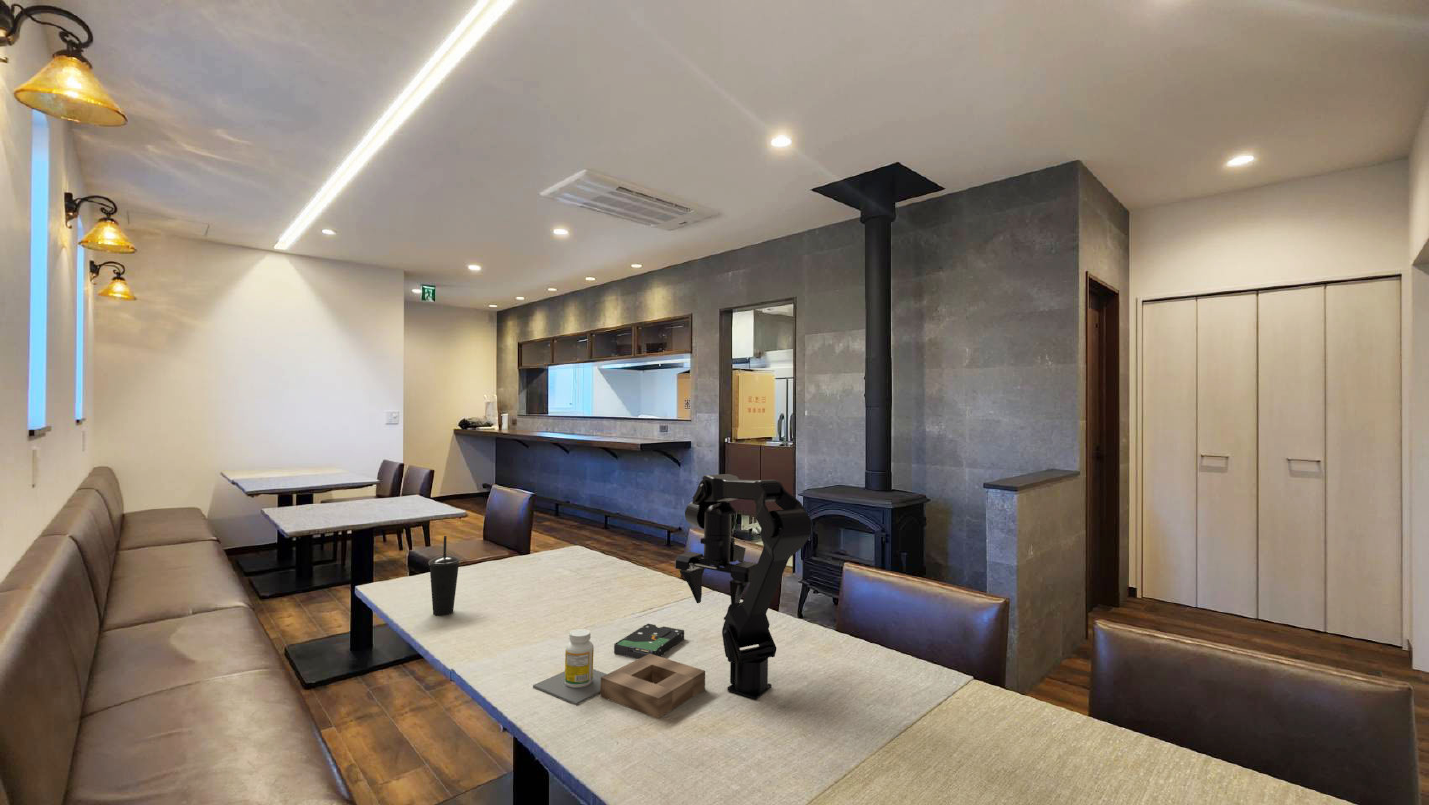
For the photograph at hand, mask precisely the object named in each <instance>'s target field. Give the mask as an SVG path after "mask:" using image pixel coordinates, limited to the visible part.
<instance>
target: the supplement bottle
mask: <svg viewBox="0 0 1429 805" xmlns="http://www.w3.org/2000/svg"><path fill="white" fill-rule="evenodd" d="M568 639H569V642H568V643H566V646H565V654H564V655H565V658H564V666H565V667H564V671H565V684H566V685H567V686H569V687H572V688H581V687H585V686H588V685H589V684H590V683H591V682H592V680H593V669H594V648H595V647H594V644H593V642H592V641H590V640H591V631H590V630H588V629H585V628H577V629H573V630H571V631H570V632H569V638H568Z"/></svg>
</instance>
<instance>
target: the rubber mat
mask: <svg viewBox="0 0 1429 805" xmlns="http://www.w3.org/2000/svg"><path fill="white" fill-rule="evenodd" d="M607 674H608V673H605V672H603V671H600V670H596V669H594V668H593V680H592V682H591V683H590V684H589V685H588V686H585V687H581V688H572V687H569V686H567V685H566V684H565V670H564V671H562V672H560V673H558V674H556V675H553V676H551V677H547V678H546V679H544V680H542V681H540V682H537V683H535V684H533V685H532V688H534V689H537V690H539V691H541V692H543V693H546V694H548V695H550V694H551V696H553V697H556V698H557V699H560V700H563V701H564V702H567V703H571V704H572V705H575V706H577V705H579V704H581V703H584V702H585V701H587V700H589V699H591V698H593V697H595V696H597V695H599V694H600V687H601V677H602V676H604V675H607ZM596 694H597V695H596Z"/></svg>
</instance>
